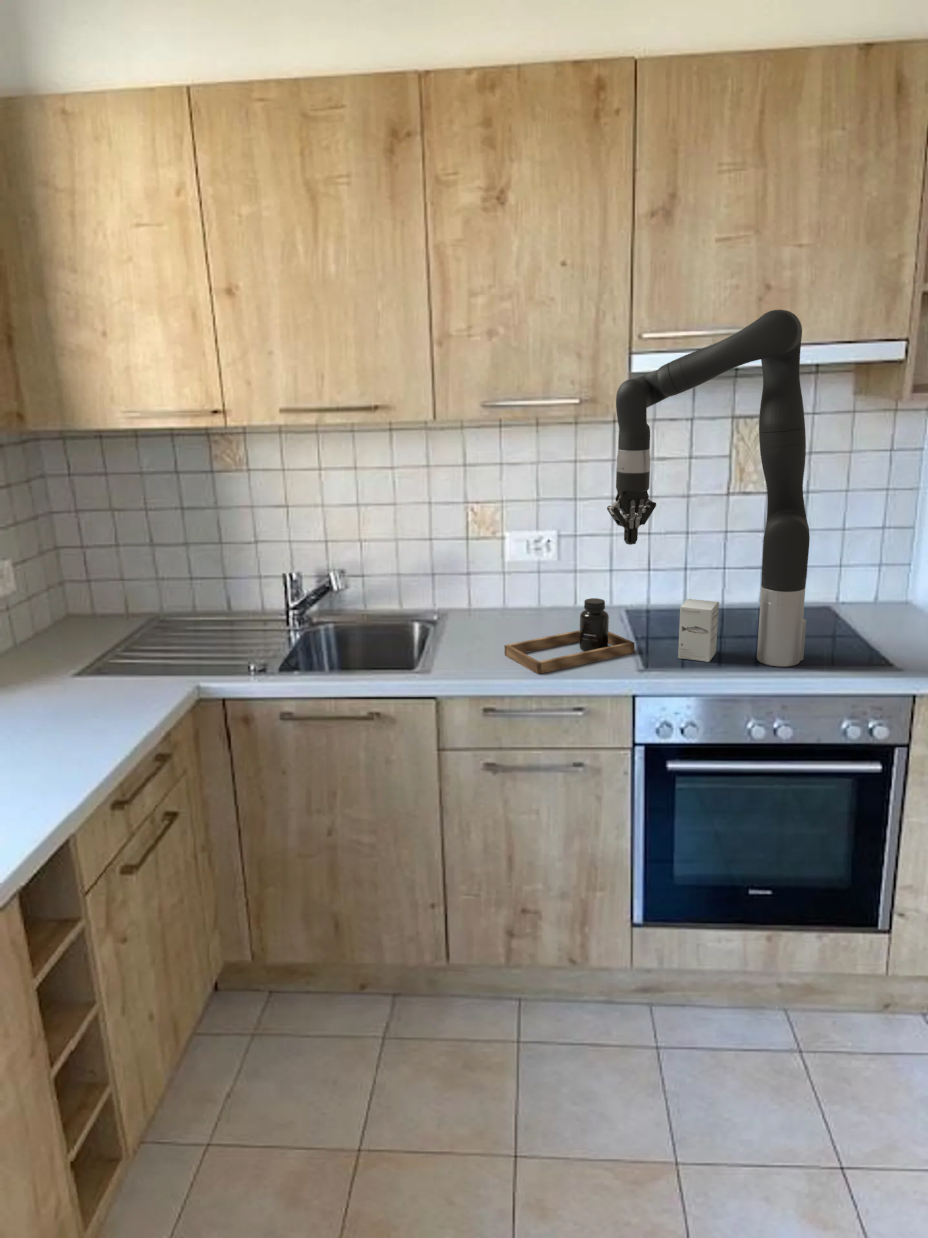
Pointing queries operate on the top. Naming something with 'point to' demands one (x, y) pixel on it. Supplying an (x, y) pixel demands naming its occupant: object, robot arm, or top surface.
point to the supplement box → (698, 630)
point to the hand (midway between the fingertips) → (630, 543)
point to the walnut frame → (518, 650)
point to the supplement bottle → (593, 625)
